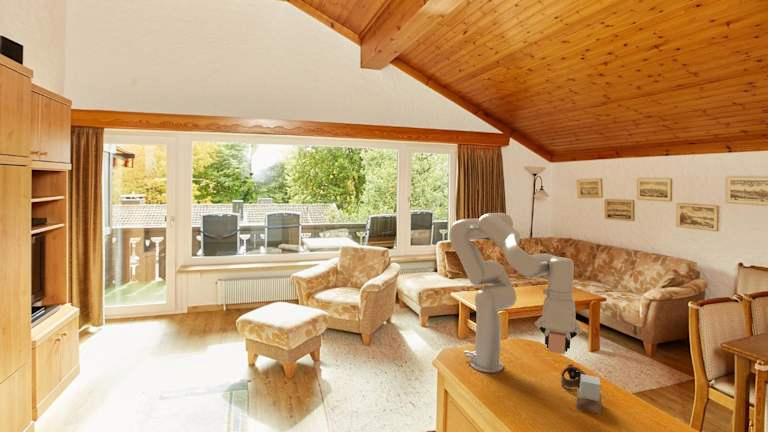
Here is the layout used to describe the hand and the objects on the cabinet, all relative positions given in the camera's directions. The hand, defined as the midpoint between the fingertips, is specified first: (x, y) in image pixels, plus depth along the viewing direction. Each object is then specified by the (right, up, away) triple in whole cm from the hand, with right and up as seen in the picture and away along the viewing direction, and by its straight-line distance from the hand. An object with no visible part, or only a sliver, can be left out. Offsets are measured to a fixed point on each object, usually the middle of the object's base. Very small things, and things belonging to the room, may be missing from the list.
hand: (557, 348), depth 139 cm
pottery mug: (+11, -18, +12) cm, 24 cm away
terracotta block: (0, -1, 0) cm, 1 cm away
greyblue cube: (+10, -15, -2) cm, 18 cm away
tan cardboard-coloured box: (+9, -19, -2) cm, 21 cm away
